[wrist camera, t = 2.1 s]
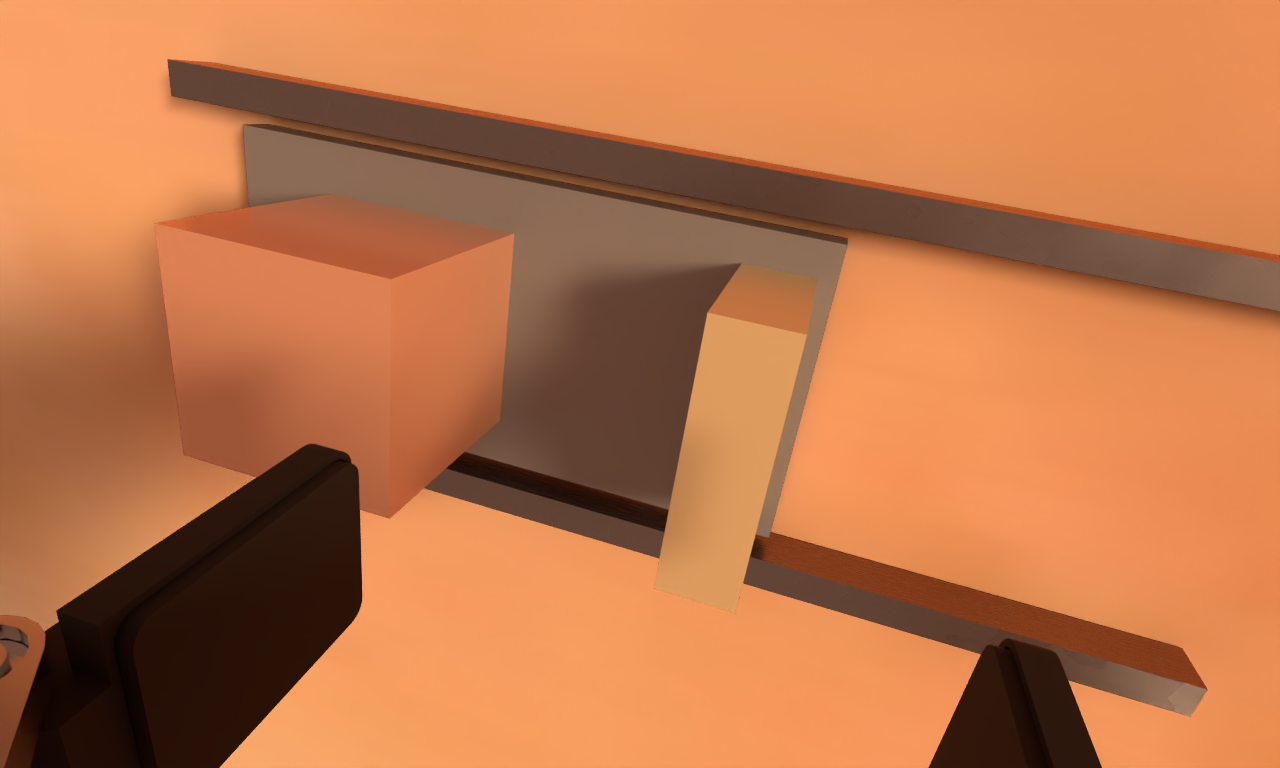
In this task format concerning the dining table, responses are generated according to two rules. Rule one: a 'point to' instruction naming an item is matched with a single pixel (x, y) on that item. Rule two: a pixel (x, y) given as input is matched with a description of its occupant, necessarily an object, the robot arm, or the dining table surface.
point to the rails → (823, 198)
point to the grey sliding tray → (620, 337)
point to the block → (336, 337)
